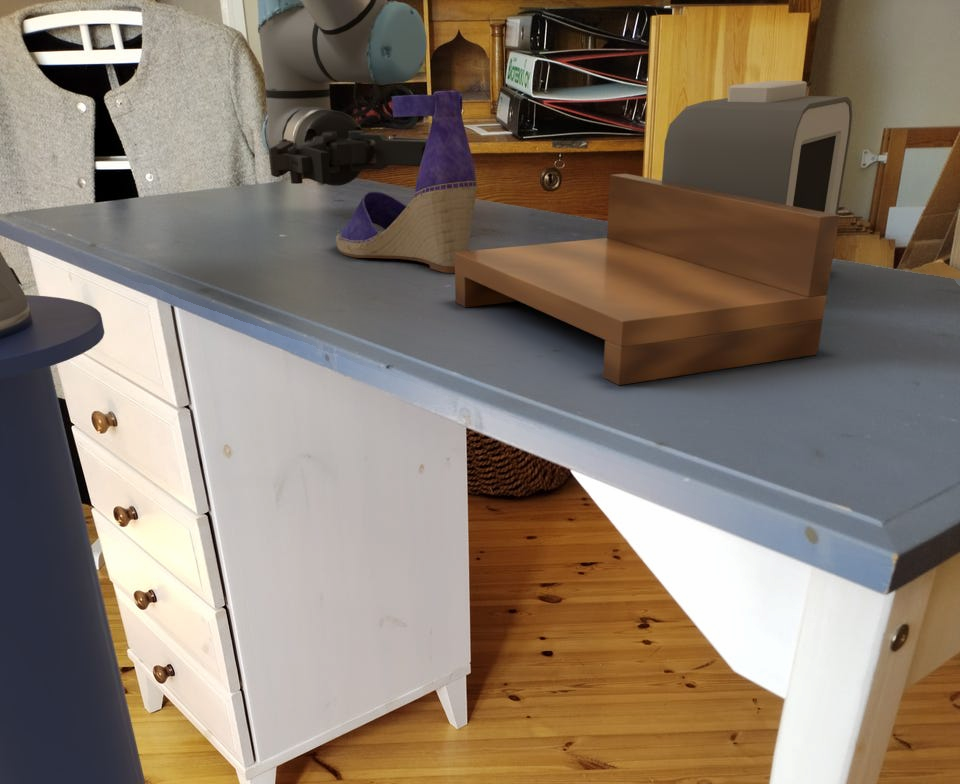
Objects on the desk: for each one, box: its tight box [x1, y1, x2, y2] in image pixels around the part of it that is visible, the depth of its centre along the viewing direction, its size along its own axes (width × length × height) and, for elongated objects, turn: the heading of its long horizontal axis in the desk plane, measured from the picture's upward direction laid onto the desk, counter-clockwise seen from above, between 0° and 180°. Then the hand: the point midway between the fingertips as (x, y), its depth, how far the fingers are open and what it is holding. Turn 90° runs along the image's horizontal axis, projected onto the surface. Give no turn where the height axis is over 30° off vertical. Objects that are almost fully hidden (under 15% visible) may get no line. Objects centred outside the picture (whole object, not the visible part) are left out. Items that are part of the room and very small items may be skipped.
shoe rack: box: [454, 173, 841, 386], centre depth 75 cm, size 16×26×9 cm, turn 25°
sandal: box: [335, 89, 478, 274], centre depth 97 cm, size 8×20×15 cm, turn 32°
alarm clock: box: [661, 80, 853, 215], centre depth 87 cm, size 16×11×16 cm
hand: (392, 164), depth 98 cm, fingers open, 13 cm apart
